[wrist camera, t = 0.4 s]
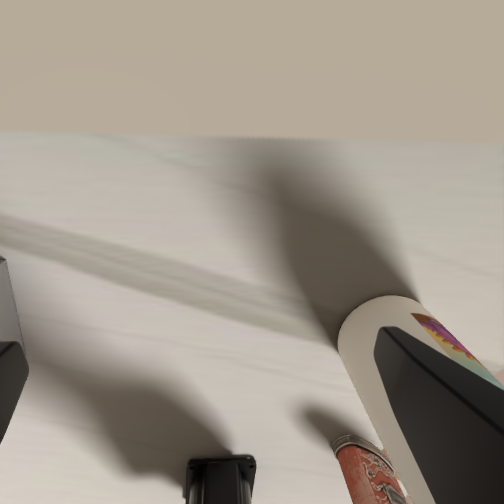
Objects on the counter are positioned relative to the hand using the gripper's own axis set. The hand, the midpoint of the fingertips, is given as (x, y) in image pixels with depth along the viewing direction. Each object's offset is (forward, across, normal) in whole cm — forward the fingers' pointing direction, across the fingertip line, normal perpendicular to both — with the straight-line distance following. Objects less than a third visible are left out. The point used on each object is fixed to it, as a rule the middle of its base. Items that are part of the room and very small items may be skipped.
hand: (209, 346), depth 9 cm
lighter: (+14, -14, +27) cm, 33 cm away
